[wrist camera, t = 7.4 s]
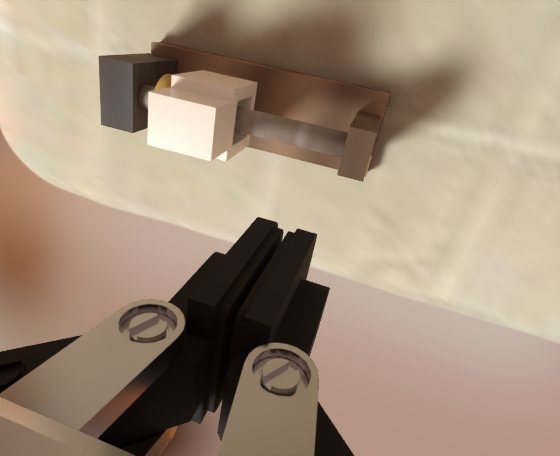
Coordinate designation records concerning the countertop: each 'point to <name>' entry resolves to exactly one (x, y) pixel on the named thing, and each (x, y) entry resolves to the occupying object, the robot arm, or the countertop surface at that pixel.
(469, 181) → the countertop surface
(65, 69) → the countertop surface
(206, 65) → the rail
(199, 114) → the sleeve
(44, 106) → the countertop surface
